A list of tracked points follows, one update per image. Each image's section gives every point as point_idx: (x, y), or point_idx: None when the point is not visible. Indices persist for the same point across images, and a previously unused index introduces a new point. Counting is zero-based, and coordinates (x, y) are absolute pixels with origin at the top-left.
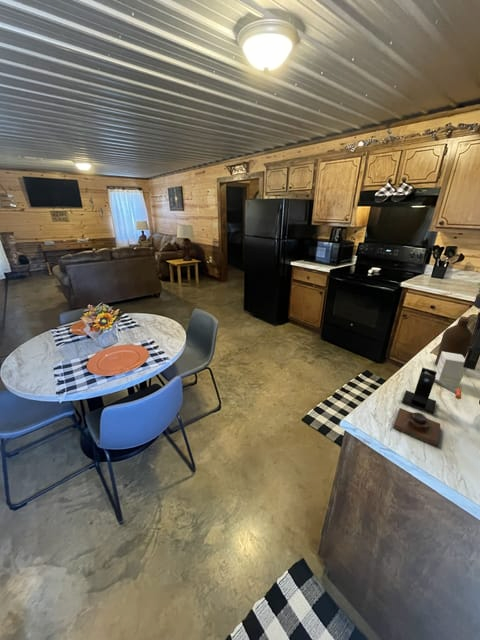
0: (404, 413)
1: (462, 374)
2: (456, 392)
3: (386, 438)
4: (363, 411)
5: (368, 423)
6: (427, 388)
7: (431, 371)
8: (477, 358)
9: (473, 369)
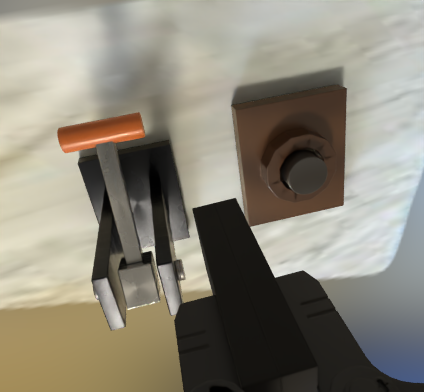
0: (269, 206)
1: None
2: (114, 143)
3: (391, 190)
4: (319, 273)
5: (361, 242)
6: (169, 232)
7: (114, 294)
8: (275, 286)
9: (237, 206)
